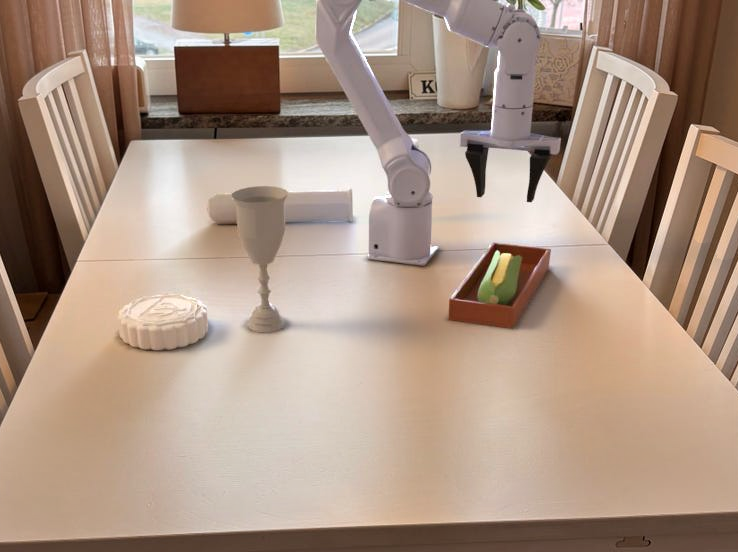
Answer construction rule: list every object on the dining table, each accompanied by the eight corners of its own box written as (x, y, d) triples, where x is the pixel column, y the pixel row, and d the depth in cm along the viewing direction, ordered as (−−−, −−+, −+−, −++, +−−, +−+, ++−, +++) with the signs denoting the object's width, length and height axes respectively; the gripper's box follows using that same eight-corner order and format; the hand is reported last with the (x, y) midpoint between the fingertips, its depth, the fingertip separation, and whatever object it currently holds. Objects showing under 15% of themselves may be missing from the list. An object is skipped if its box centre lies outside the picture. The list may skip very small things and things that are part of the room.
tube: (204, 205, 174) (352, 201, 173) (206, 186, 177) (351, 182, 177) (207, 231, 178) (352, 227, 178) (209, 212, 181) (351, 208, 181)
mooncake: (184, 356, 134) (181, 330, 132) (103, 344, 137) (99, 319, 135) (223, 320, 143) (221, 296, 141) (146, 310, 147) (143, 286, 145)
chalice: (252, 339, 138) (244, 205, 128) (231, 321, 143) (222, 191, 133) (301, 328, 141) (297, 196, 131) (279, 311, 146) (274, 183, 136)
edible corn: (473, 316, 142) (475, 284, 139) (491, 265, 158) (493, 236, 155) (511, 319, 140) (514, 288, 138) (525, 267, 157) (528, 238, 154)
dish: (448, 319, 142) (449, 299, 140) (491, 261, 161) (492, 242, 159) (512, 328, 139) (514, 308, 138) (548, 268, 158) (550, 248, 156)
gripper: (456, 107, 149) (451, 200, 156) (557, 114, 144) (547, 210, 151) (469, 96, 154) (464, 187, 161) (567, 103, 149) (557, 196, 157)
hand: (505, 197), depth 157 cm, fingers open, 7 cm apart
